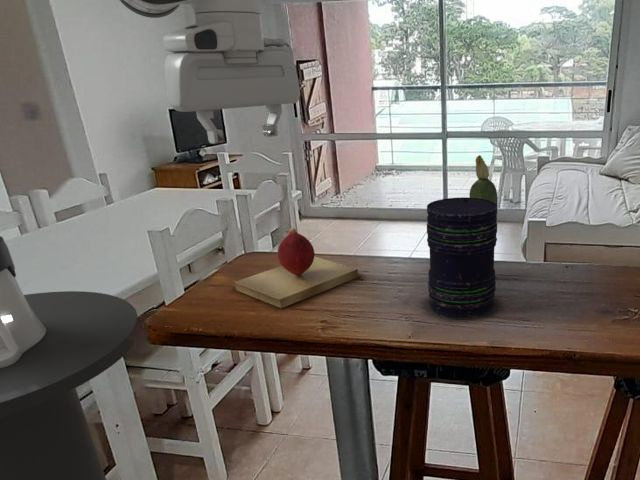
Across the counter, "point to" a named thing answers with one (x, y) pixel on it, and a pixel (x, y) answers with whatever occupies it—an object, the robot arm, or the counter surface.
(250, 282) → the cutting board
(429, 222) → the storage jar
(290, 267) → the onion
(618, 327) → the counter surface
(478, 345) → the counter surface
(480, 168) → the vegetable
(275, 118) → the robot arm
